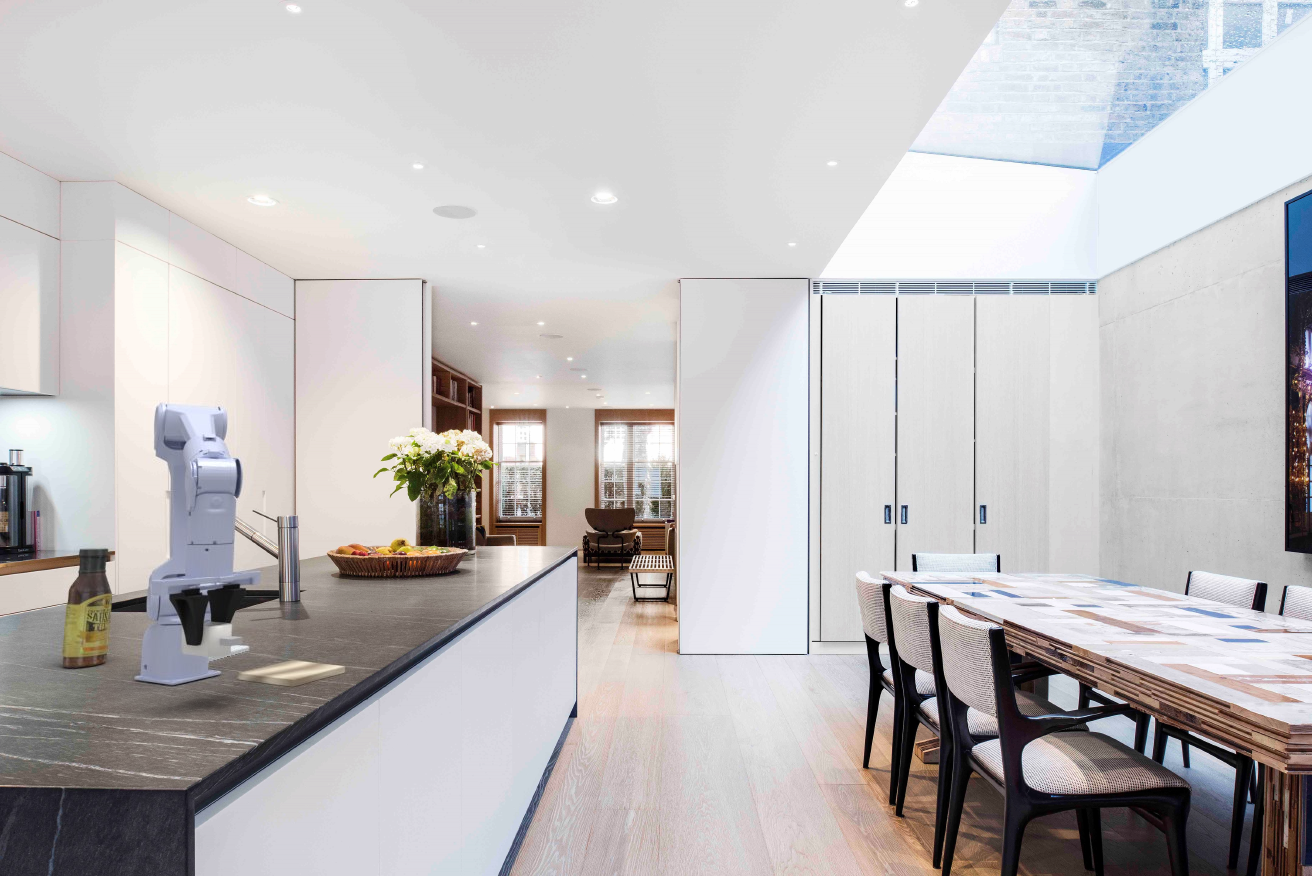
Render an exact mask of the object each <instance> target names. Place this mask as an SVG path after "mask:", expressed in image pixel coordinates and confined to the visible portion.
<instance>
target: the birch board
mask: <svg viewBox="0 0 1312 876" xmlns="http://www.w3.org/2000/svg"><path fill="white" fill-rule="evenodd" d="M344 673H346V666H344V665H337V664H330V663H329V664H328V663H319V662H310V661H302V660H294V659H293V660H292V659H291V660H287V661H283V662H279V663H276V664H275V663H274V664H270V665H267V666H262V667H258V668H253V669H249V670H245V671H240V672H238V673H237V680H241V681H248V682H254V683H263V684H270V685H277V686H285V687H291V688H292V687H293V688H294V687H297V686H300V685H304V684H308V683H311V682H315V681H319V680H324V679H326V678H330V677H333V676H337V675H342V674H344Z"/></svg>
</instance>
